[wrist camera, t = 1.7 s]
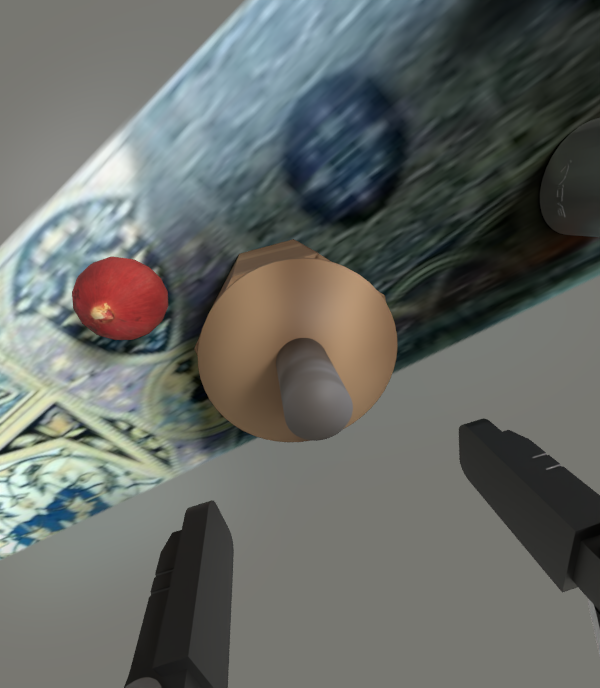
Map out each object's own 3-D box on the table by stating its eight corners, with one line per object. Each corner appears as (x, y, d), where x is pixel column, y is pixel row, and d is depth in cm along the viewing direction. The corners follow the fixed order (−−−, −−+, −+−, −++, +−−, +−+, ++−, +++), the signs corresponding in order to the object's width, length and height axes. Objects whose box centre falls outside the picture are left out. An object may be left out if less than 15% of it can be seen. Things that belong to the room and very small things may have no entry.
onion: (144, 334, 27) (104, 378, 20) (85, 285, 25) (15, 314, 17) (191, 291, 26) (168, 321, 19) (135, 236, 24) (84, 245, 17)
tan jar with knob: (332, 226, 26) (439, 240, 11) (355, 347, 30) (450, 469, 16) (197, 262, 25) (123, 326, 11) (241, 380, 30) (232, 536, 15)
